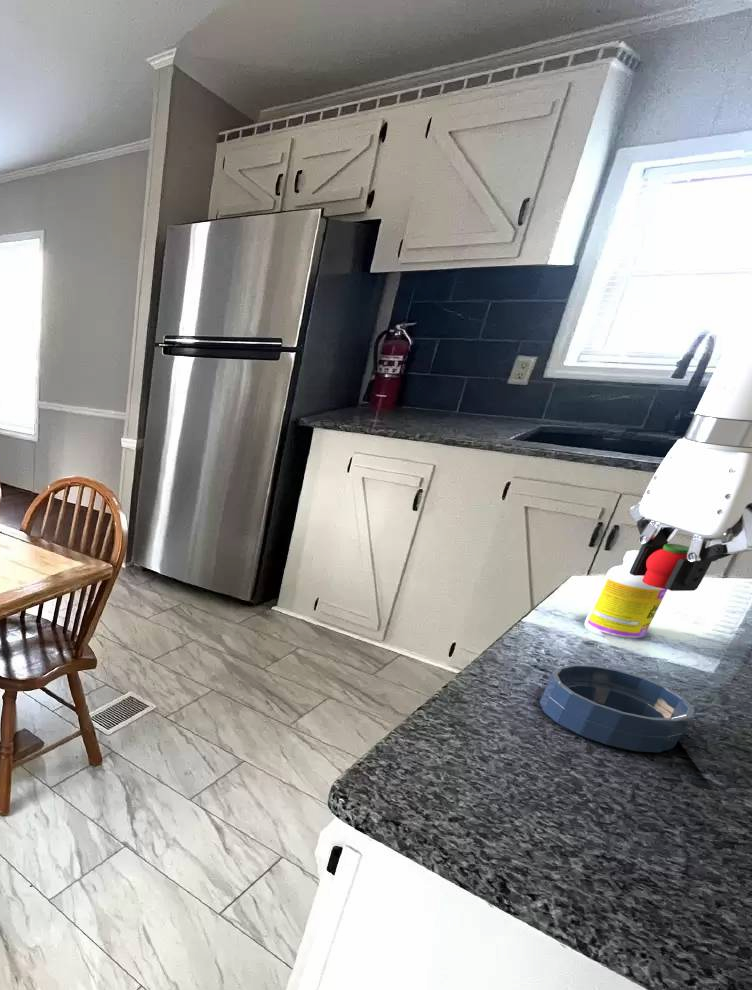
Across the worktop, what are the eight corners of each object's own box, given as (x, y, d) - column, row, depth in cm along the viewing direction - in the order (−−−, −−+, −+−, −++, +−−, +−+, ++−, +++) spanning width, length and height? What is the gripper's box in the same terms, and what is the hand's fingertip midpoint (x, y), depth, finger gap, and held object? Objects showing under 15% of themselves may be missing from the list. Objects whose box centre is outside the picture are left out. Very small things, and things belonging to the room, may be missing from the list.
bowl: (652, 712, 79) (670, 679, 77) (691, 768, 70) (713, 732, 68) (529, 688, 85) (543, 656, 83) (550, 736, 76) (567, 702, 74)
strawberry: (676, 581, 80) (695, 544, 77) (688, 593, 77) (708, 555, 74) (633, 575, 82) (650, 539, 79) (642, 586, 78) (661, 549, 76)
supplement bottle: (643, 647, 94) (683, 567, 88) (582, 634, 98) (618, 556, 92) (640, 631, 98) (679, 554, 93) (583, 619, 102) (617, 544, 97)
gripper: (865, 448, 63) (768, 611, 71) (693, 420, 78) (629, 557, 86) (787, 449, 64) (699, 612, 71) (631, 421, 79) (572, 557, 87)
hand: (661, 580), depth 79 cm, fingers closed on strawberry, 3 cm apart
